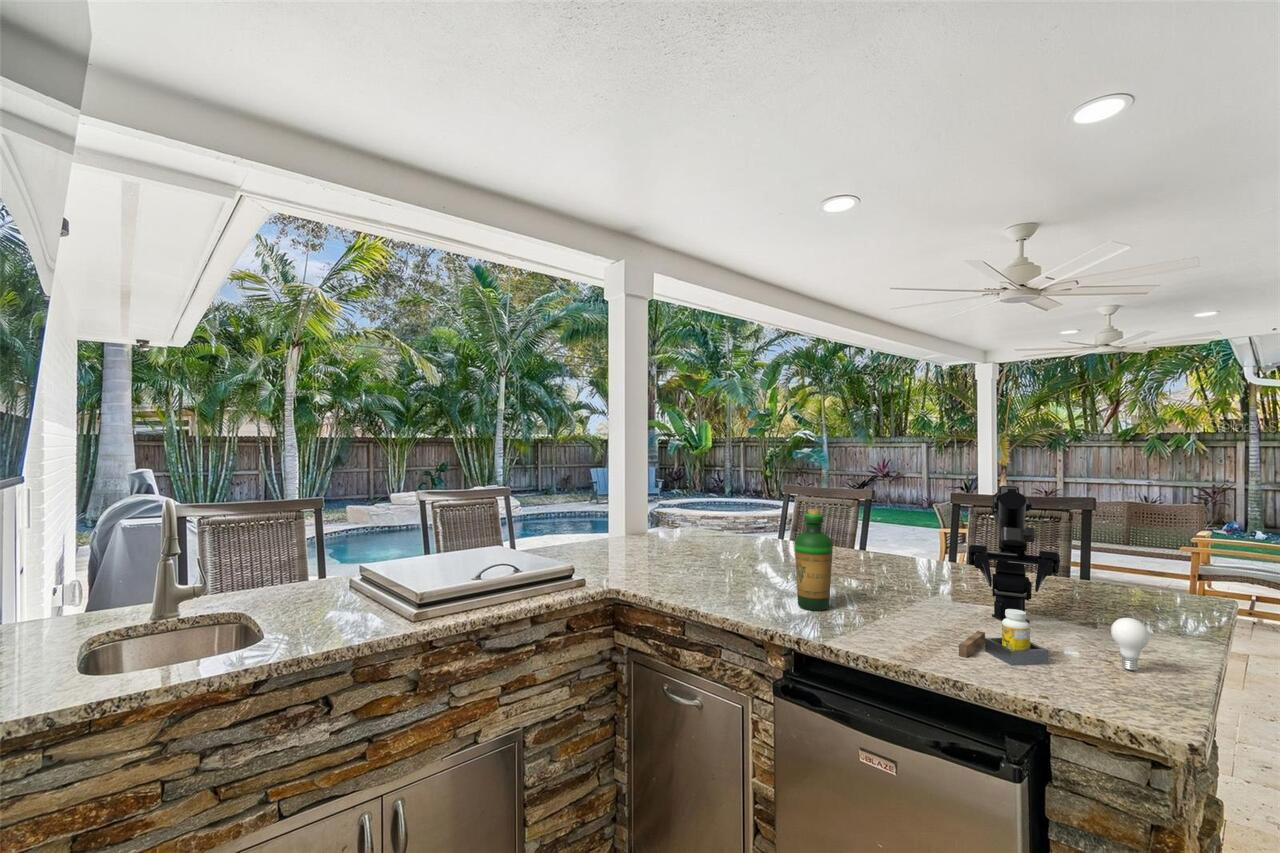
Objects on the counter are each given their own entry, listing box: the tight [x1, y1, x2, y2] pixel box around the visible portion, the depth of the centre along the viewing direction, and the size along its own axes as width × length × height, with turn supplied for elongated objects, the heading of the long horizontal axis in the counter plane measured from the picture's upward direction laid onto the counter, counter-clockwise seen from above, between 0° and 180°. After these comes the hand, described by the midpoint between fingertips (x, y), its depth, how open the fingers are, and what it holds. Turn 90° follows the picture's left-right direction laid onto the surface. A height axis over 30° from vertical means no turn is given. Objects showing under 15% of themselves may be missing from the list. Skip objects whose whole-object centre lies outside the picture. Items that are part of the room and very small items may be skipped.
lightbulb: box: [1110, 617, 1150, 672], centre depth 129 cm, size 6×6×11 cm
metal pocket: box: [984, 637, 1050, 666], centre depth 136 cm, size 9×9×3 cm
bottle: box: [794, 508, 834, 612], centre depth 175 cm, size 11×11×28 cm
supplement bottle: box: [1001, 609, 1031, 650], centre depth 136 cm, size 5×5×10 cm
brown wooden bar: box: [958, 630, 986, 659], centre depth 141 cm, size 14×2×2 cm, turn 136°
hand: (1013, 588), depth 143 cm, fingers open, 9 cm apart
